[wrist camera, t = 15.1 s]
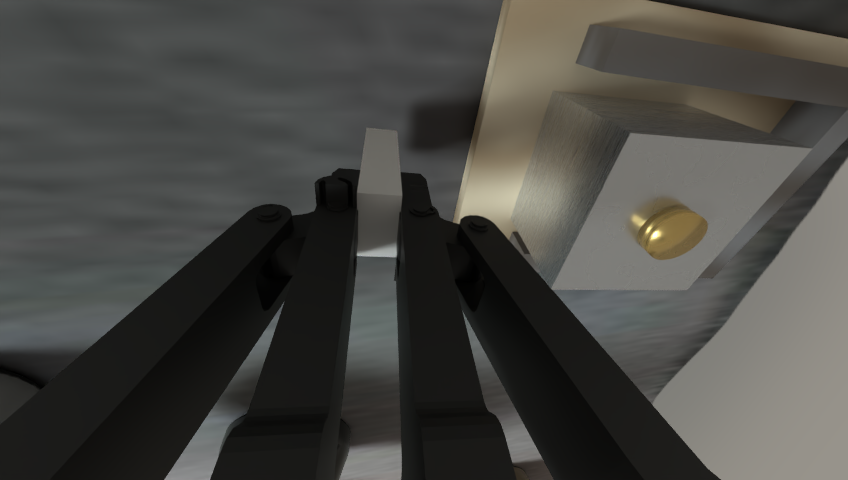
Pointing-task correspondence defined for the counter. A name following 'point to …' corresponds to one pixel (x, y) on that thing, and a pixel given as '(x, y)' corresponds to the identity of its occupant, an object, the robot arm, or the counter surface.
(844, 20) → the counter surface
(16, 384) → the smart speaker
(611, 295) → the counter surface
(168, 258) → the counter surface
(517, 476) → the plant pot
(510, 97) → the board
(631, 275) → the lock block
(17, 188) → the counter surface
